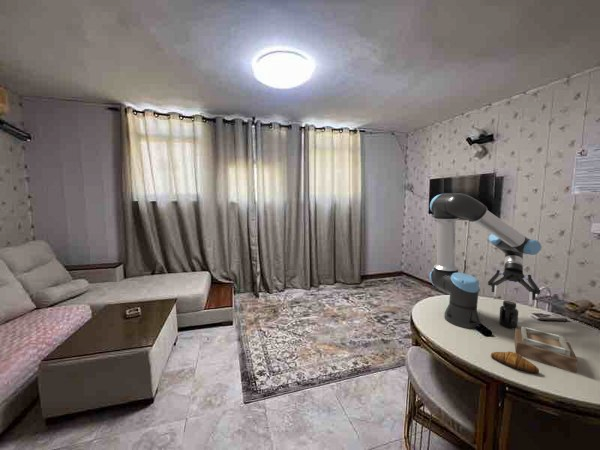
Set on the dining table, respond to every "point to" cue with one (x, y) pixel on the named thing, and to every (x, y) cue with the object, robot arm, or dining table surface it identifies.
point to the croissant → (515, 361)
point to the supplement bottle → (508, 315)
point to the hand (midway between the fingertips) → (512, 301)
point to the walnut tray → (545, 348)
